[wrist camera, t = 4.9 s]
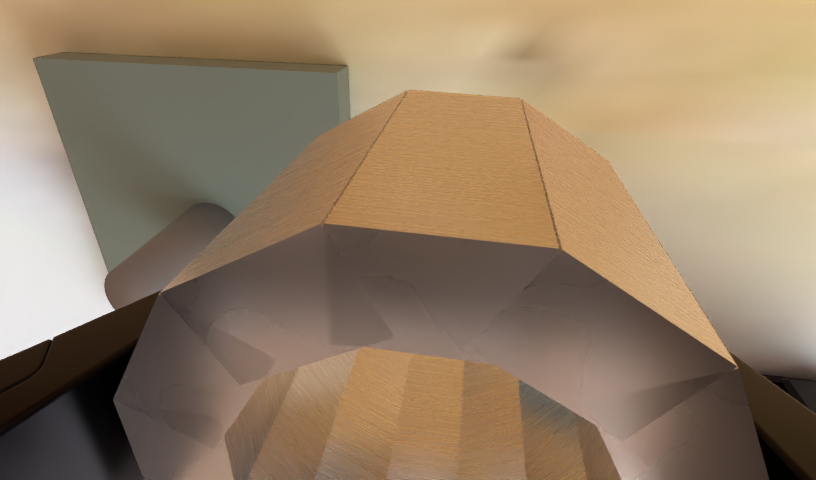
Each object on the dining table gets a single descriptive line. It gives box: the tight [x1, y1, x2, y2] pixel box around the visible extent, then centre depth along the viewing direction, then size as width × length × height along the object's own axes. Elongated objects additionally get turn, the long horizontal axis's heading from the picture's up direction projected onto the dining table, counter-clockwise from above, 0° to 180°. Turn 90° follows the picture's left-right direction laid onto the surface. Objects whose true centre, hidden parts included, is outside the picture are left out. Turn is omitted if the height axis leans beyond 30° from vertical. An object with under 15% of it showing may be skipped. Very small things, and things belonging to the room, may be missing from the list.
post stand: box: [33, 52, 350, 310], centre depth 19 cm, size 14×12×6 cm
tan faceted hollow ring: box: [113, 90, 769, 480], centre depth 8 cm, size 7×7×5 cm
